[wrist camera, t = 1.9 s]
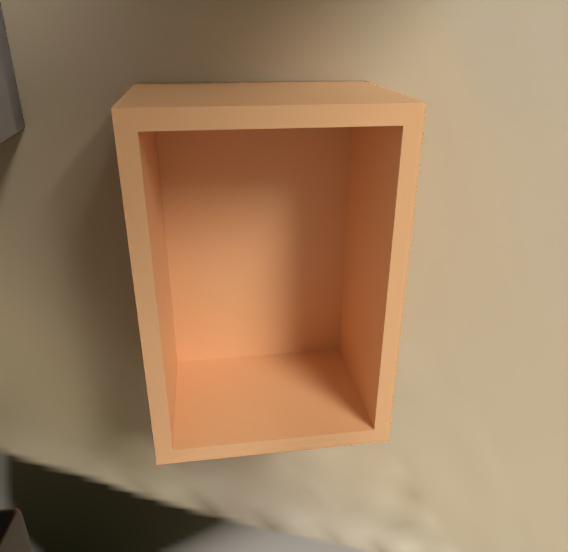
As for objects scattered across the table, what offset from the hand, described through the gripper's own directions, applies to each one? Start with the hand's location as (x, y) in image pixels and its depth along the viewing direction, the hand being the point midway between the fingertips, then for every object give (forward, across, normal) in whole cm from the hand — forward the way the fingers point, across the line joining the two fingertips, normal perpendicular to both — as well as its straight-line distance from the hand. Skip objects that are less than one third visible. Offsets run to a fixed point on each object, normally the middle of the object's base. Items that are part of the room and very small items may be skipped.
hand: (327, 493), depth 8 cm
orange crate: (+11, 0, 0) cm, 11 cm away
